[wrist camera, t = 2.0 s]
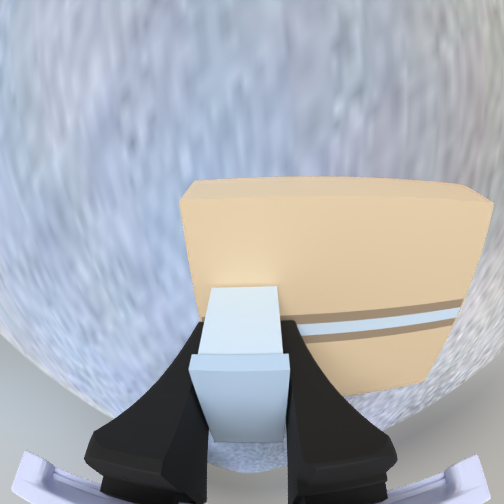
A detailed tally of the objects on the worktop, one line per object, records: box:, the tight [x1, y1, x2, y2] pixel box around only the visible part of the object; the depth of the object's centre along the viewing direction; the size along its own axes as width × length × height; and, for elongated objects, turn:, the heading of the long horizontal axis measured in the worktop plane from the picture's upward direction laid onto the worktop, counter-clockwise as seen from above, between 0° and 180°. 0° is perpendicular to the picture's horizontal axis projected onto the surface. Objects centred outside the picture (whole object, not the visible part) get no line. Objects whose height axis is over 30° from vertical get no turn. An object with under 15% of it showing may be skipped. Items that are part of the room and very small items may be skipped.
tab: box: [189, 286, 290, 443], centre depth 11 cm, size 3×5×4 cm, turn 3°
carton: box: [179, 176, 494, 396], centre depth 13 cm, size 13×12×3 cm
